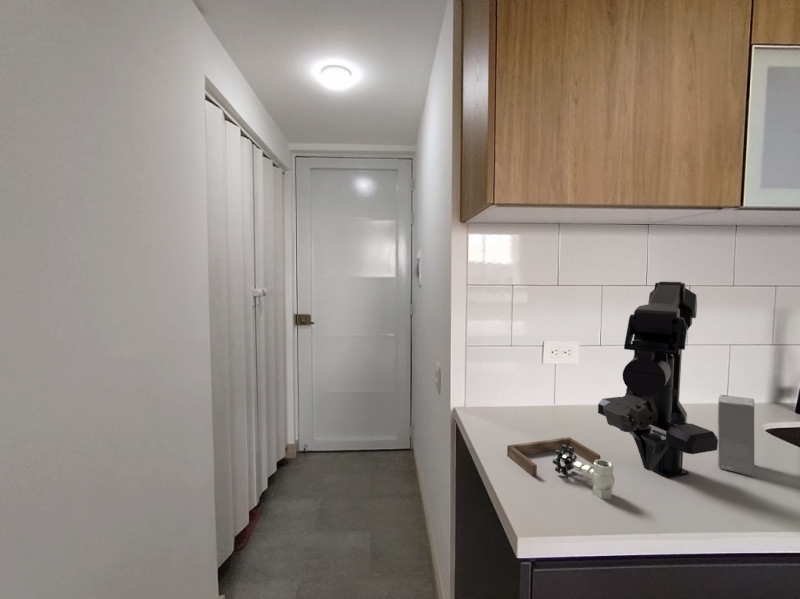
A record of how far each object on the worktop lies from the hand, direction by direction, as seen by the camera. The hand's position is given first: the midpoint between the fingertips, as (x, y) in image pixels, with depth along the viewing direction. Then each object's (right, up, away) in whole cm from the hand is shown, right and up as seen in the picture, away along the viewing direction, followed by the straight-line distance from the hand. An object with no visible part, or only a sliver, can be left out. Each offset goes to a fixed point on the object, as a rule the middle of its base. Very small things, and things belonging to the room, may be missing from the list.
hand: (648, 469), depth 70 cm
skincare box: (+34, -9, +23) cm, 42 cm away
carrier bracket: (-7, -9, +25) cm, 27 cm away
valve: (-4, -10, +15) cm, 18 cm away
